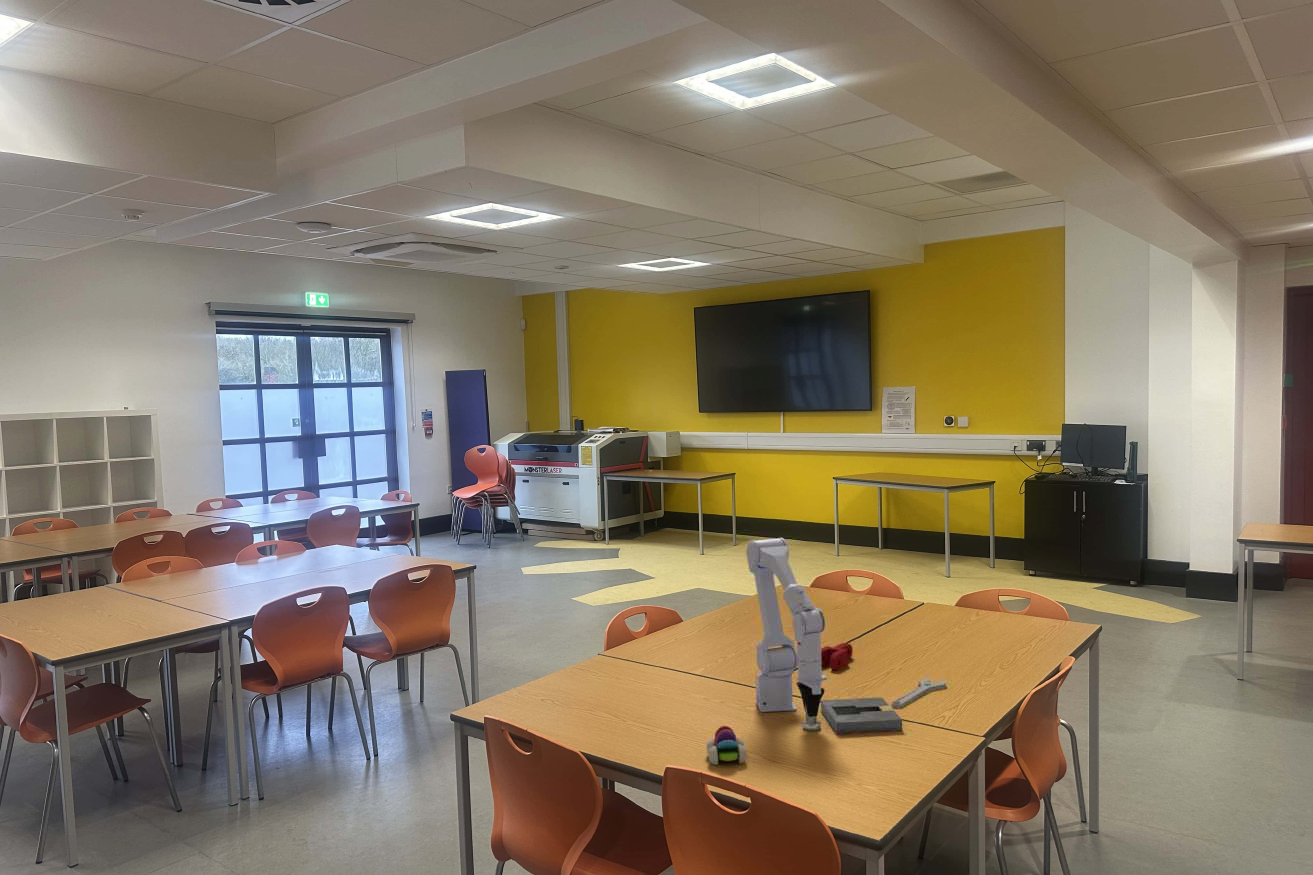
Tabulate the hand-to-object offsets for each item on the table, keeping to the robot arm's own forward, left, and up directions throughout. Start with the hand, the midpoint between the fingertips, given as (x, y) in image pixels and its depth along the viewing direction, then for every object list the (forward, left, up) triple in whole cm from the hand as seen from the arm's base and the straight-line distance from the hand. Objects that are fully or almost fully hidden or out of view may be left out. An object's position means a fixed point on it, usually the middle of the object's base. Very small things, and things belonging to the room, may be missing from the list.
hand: (811, 713), depth 211 cm
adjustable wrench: (+33, +20, -4) cm, 39 cm away
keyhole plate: (+13, +3, -3) cm, 14 cm away
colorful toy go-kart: (-23, -16, -4) cm, 28 cm away
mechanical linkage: (+20, +51, -4) cm, 54 cm away
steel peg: (0, 0, -3) cm, 3 cm away
